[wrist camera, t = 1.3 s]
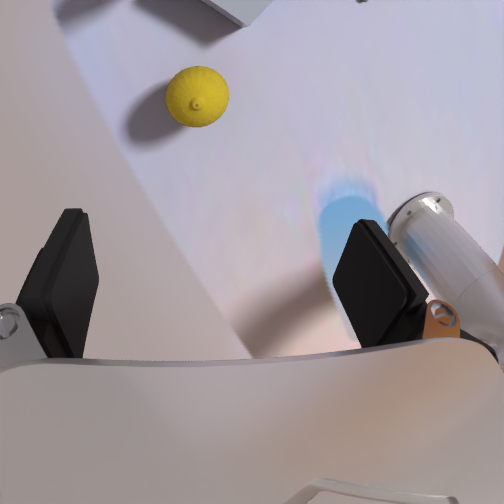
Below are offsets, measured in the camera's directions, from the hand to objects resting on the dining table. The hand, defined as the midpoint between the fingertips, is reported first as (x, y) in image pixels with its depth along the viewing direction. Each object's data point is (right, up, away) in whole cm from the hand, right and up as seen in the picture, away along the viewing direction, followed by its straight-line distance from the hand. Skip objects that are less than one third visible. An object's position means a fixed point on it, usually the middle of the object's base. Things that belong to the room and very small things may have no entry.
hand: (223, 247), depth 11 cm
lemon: (-4, +16, +17) cm, 24 cm away
